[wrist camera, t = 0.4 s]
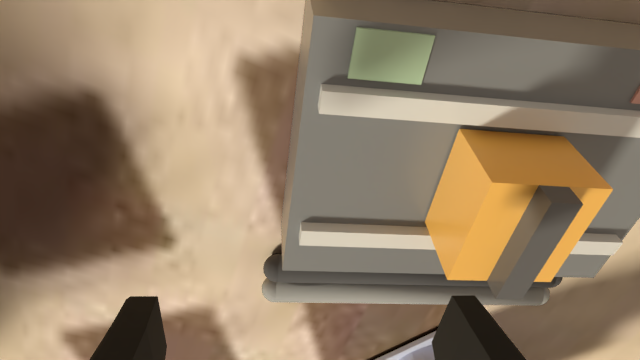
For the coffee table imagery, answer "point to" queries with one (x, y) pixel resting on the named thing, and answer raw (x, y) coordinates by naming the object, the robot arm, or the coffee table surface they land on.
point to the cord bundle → (383, 287)
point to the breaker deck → (445, 122)
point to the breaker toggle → (512, 208)
